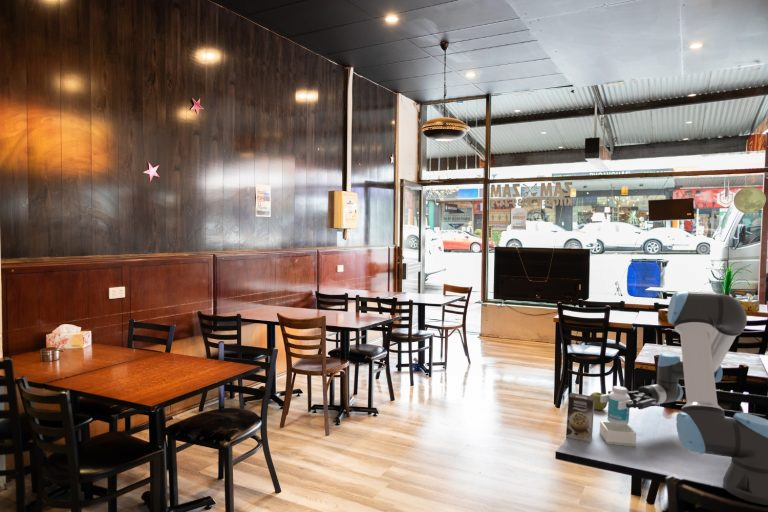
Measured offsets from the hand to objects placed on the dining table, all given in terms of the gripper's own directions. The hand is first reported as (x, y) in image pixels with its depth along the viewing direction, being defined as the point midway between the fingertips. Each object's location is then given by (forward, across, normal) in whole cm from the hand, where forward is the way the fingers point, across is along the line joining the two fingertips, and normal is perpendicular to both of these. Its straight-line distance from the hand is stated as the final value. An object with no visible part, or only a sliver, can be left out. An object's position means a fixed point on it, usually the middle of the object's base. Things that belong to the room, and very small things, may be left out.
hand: (610, 402), depth 194 cm
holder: (-4, 0, -15) cm, 16 cm away
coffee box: (+8, +7, -15) cm, 18 cm away
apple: (-26, +28, -16) cm, 41 cm away
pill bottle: (-5, 0, -9) cm, 10 cm away
